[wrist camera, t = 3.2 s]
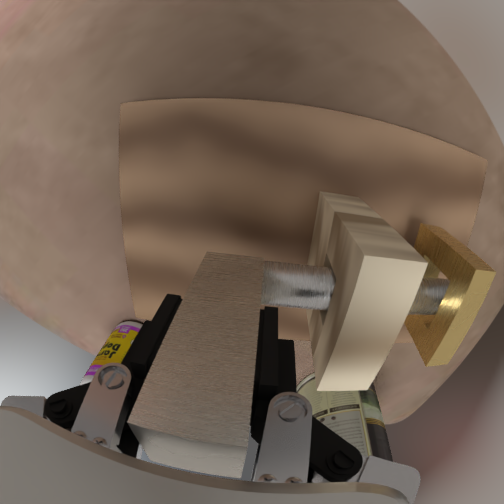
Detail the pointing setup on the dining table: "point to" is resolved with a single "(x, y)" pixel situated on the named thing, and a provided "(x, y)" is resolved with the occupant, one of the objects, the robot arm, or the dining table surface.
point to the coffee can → (350, 416)
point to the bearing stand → (292, 212)
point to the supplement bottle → (114, 348)
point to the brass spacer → (448, 294)
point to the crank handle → (226, 358)
